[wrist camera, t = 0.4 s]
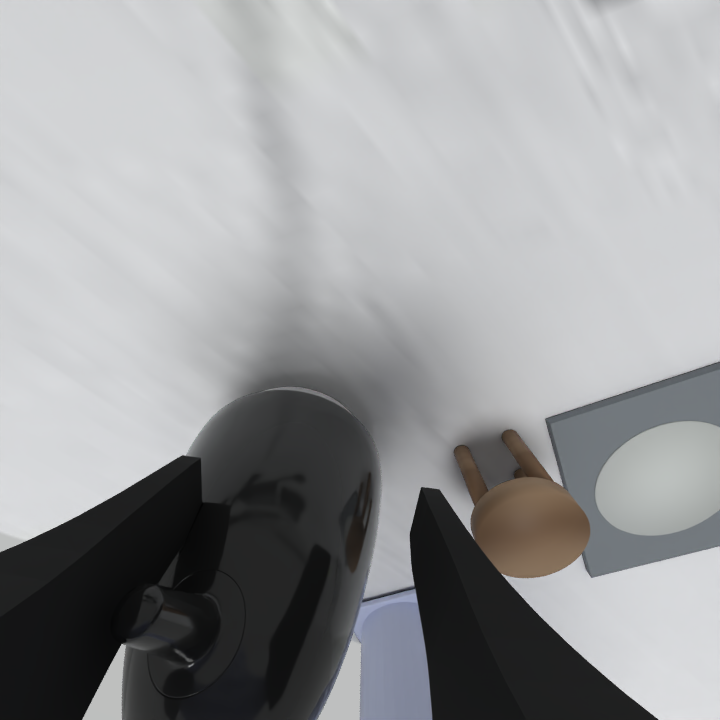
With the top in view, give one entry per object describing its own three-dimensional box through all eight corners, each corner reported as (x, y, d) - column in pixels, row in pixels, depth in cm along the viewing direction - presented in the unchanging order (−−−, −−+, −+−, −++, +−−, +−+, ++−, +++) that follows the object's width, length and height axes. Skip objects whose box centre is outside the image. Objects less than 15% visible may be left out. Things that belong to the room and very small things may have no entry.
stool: (542, 482, 23) (599, 561, 17) (464, 505, 24) (493, 588, 18) (522, 415, 21) (578, 479, 15) (439, 443, 22) (463, 513, 16)
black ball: (361, 346, 20) (376, 643, 6) (387, 484, 23) (434, 874, 9) (196, 374, 20) (-179, 710, 6) (246, 504, 24) (87, 902, 10)
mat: (762, 526, 23) (773, 534, 23) (586, 570, 25) (592, 579, 25) (754, 350, 19) (768, 354, 19) (545, 419, 21) (551, 424, 20)
